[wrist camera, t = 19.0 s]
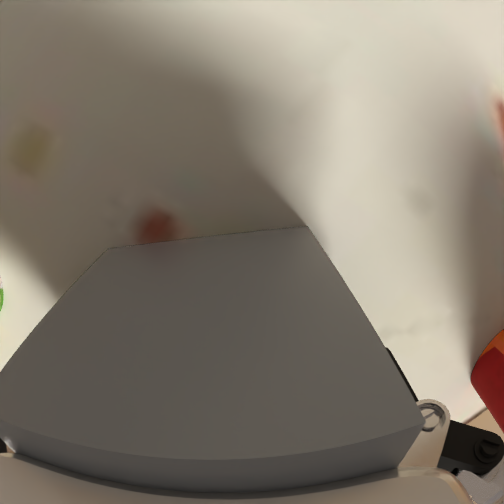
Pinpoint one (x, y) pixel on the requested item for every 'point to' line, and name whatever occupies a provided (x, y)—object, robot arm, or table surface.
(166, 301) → the grey matte cube
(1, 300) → the supplement bottle
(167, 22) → the table surface
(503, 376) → the paper cup
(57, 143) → the table surface
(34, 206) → the table surface
